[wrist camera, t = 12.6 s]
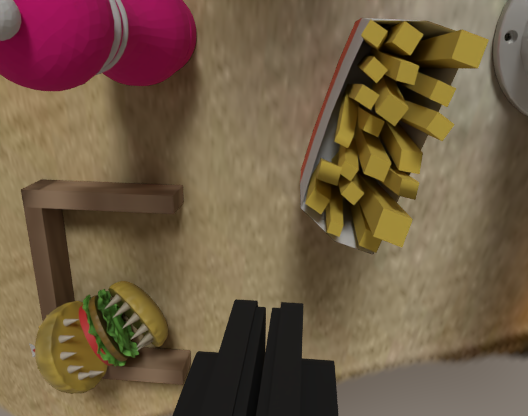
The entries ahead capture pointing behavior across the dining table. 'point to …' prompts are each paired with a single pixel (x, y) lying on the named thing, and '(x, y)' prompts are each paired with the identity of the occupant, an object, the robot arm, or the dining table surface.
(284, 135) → the dining table surface
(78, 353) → the hamburger
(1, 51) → the pepper mill
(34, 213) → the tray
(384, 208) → the french fries container
